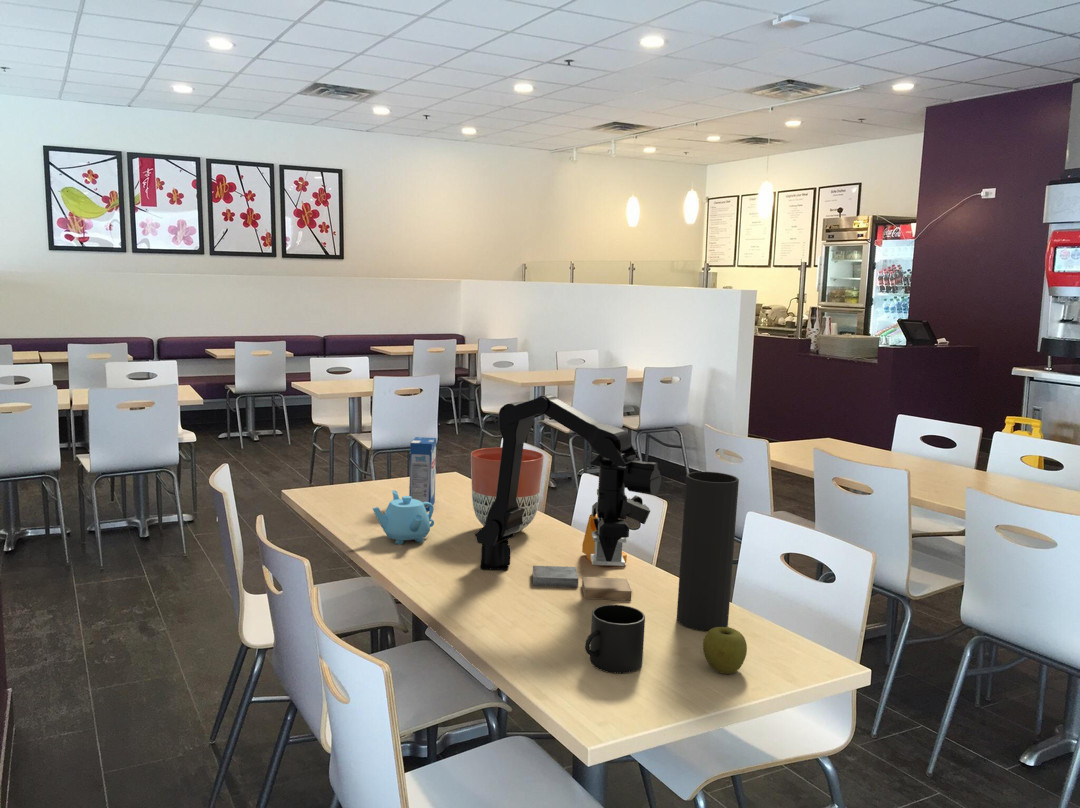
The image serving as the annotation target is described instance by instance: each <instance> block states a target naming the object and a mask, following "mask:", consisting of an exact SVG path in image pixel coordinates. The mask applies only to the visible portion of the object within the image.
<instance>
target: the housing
mask: <svg viewBox="0 0 1080 808" xmlns="http://www.w3.org/2000/svg"><path fill="white" fill-rule="evenodd" d="M592 537H593V540H594V541H595V550H594V554H591V557H590V558H591V561H592V562H591V561H590V562H591V565H593V566H594V565H595V566H615V567H617V566H622V567H623V566H626V563H625V561H624V559H623V556H622V552H623V543H625V544H626V543H627V538H621V539H619V540H618V542H617V545H616V548H615V551H614V555H613V558H612V561H611V562H608V561H606V558H605V555H604V552H603V549H602V546H601V542H600V539H599V536H598V533H597V531H592Z"/></svg>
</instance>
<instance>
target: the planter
mask: <svg viewBox="0 0 1080 808" xmlns="http://www.w3.org/2000/svg"><path fill="white" fill-rule="evenodd" d="M501 453H502V447H485V448H479V449H474V450H473V451H471V453H470V471H471V476H470V477H471V479H470V480H471V500H472V501H471V502H472V508H473V511H474V515H475V517H476V519H477V520H478V522H479V523H480V525H482V526H483V527H484V526H485V522H486V519H487V515H488V512H489V510H490V508H491V506H492V504H493V503H494V501H495V499H496V493H497V485H498V477H499V469H500V461H501ZM544 459H545V457H544V454H543V453H542V452H539V451H536V450H533V449H529V448H528V449H527V448H523V452H522V460H521V468H520V476H519V483H518V491H517V503H518V506H519V508H524V513H523V517H522V521H523V524H522V525H520V528H519V530H517V531H516V532H515V534H516V533H519V532H521V531H523V530H524V529H526V528H527V527H528V526H529V525H530V524H531V523H532V522H533V521H534V519H535V516H536V515H537V512H538V508H539V505H540V498H541V489H542V479H543V478H542V477H543V468H544Z"/></svg>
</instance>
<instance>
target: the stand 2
mask: <svg viewBox="0 0 1080 808" xmlns="http://www.w3.org/2000/svg"><path fill="white" fill-rule="evenodd" d="M581 578H582V579H581V580H582V581H581V587H582V591H583V596H584V599H587V600H592V599H593V600H611V601H612V600H614V601H615V600H617V601H618V600H619V601H632V594H633V593H632V591H633V590H632V588H631V585H630V583H629V580H628V578H624V577H623V578H618V577H615V578H614V577H588V576H587V577H586V576H585V577H584V576H582V577H581Z"/></svg>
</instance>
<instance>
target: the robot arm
mask: <svg viewBox="0 0 1080 808" xmlns="http://www.w3.org/2000/svg"><path fill="white" fill-rule="evenodd" d="M544 415H546V416H547V417H548V418H550V419H552V420H553V421H555V422H557V423H558V424H560V425H561V426H563V427H565V428H566V429H568V430H570V431H571V432H573V433H575V434H577V435H578V436H580V437H581V438H583V439H584V440H585V441H586V442H587V443H588V444H589V446H590V448H591V449H593V450H594V451H595V452H596V453H597V456H596V457H595V458H594V459H593V460H592V461H590V465H591V466H596V467H599V469H598V470H599V471H598V488H596V495H597V501H596V502H594V503H593V505H592V506H591V514H592V516H593V517H595V516H596V514H597V519H593V521H594V524H595V527H596V530H597V533H598V536H599V539H600V542H601V546H602V549H603V552H604V555H605V558H606V561H608V562H611V561H612V558H613V555H614V551H615V548H616V545H617V542H618V540H619V539H621V538H626V539H627V538H629V537H630V527H629V525H628V523H627V522H626V521H625V520H627V518H630V519H632V520H635V521H636V522H639V523H640V524H643V525H645V524H646V522H647V520H648V518H649V515H650V513H651V509H650V508H649V506H648V505H646V504H644V503H643V498H642V497H640V496H638V495H634V496H633V497H632V498H630V497H629V498H628V497H627V495H626V492H625V491H626V489H627V490H628V492H633V493H638V494H643V495H650V496H656V495H657V494H658V493H659V490H660V487H661V483H662V476H661V471H660V469H658V462H653V461H651V462H650V461H648V462H647V461H642V460H641V458H640V456H639V455H638V452H637V451H636V449H635V447H634V446H633V443H632V440H631V435H630V433H628V431H626V430H625V429H622V428H620V427H617V426H614V425H610V424H606V423H602V422H600V421H597V420H594V419H593V418H592V417H590V416H588V415H586V414H585V413H583V412H581V411H579V410H578V409H576V408H575V407H572V406H571V405H569V404H567V403H565V402H564V401H562V400H560V399H559V398H558V397H557V396H556V395H554V394H550V393H549V394H545V395H544V394H543V395H540V396H538V397H536V398H534V399H530V400H528V401H515V402H510V403H507V404H504V405H503V406H502V407H500V409H499V412H498V428H499V432H500V435H501V437H502V438H501V439H502V453H501V461H500V469H499V477H498V485H497V493H496V499H495V501H494V503H493V504H492V506H491V508H490V510H489V512H488V515H487V519H486V522H485V526H483V527H481V528H480V529H479V530H477V532H476V533H475V534H474V535H475V539H476V543H477V544H481V553H480V554H481V556H480V558H481V559H480V564H479V565H480V566H479V568H480V570H501V571H502V570H503V571H504V570H505V571H506V570H509V566H510V565H511V555H512V554H511V549H512V547H511V545H509V540H511V539H513V538H514V536H515V534H516V533H515V532H516V531H517V530H519V528H520V525H522V524H523V521H522V517H523V513H524V508H519V506H518V503H517V491H518V483H519V476H520V468H521V460H522V452H523V449H524V443H525V441H526V439H527V437H528V435H529V434H530V431H531V430H532V426H533V424H534V420H535V419H537V418H539V417H541V416H544Z"/></svg>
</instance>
